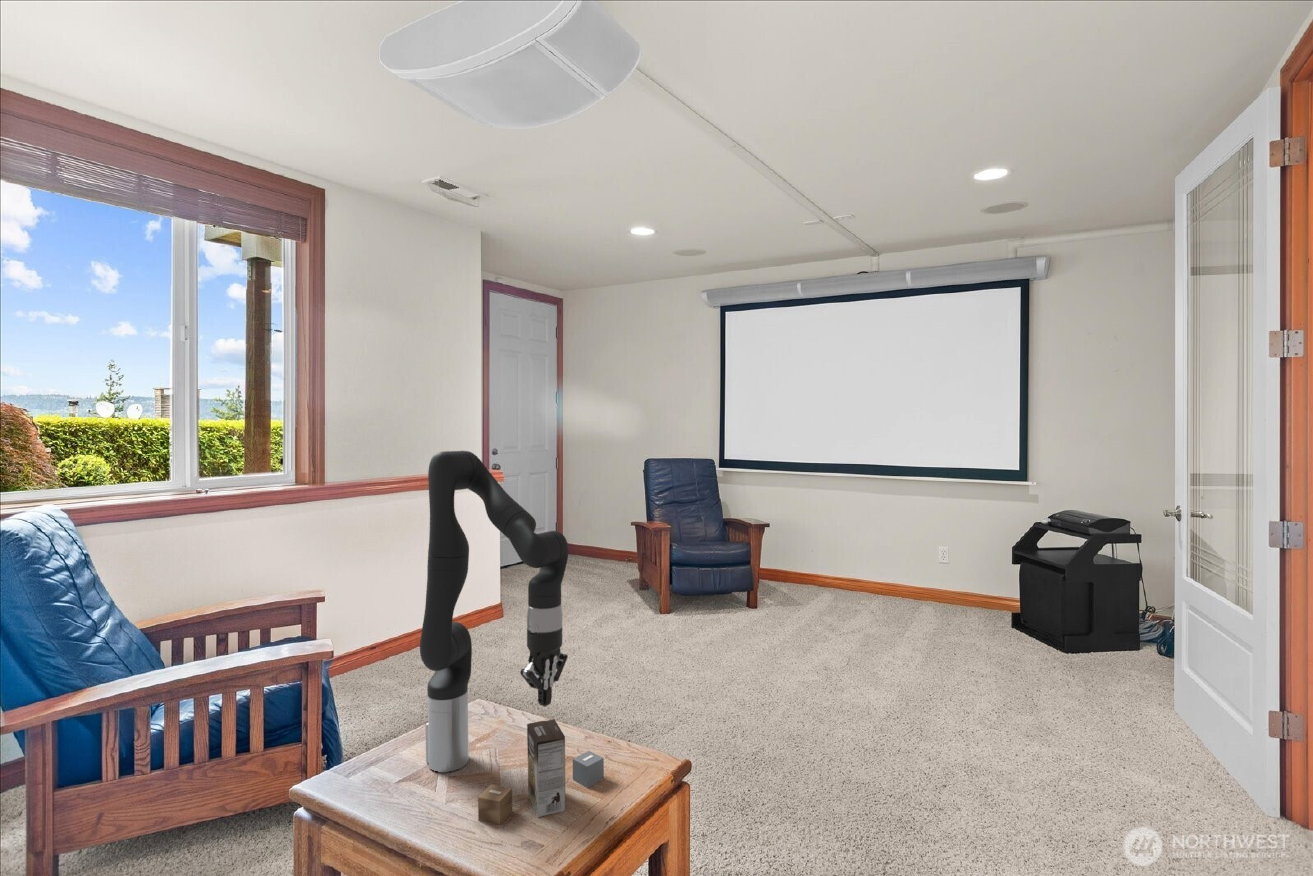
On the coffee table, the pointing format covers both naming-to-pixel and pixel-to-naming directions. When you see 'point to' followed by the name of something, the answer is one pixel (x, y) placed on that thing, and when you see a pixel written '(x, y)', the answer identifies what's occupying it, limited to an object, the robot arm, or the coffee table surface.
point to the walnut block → (495, 804)
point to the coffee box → (546, 767)
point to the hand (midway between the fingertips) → (544, 704)
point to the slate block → (588, 769)
